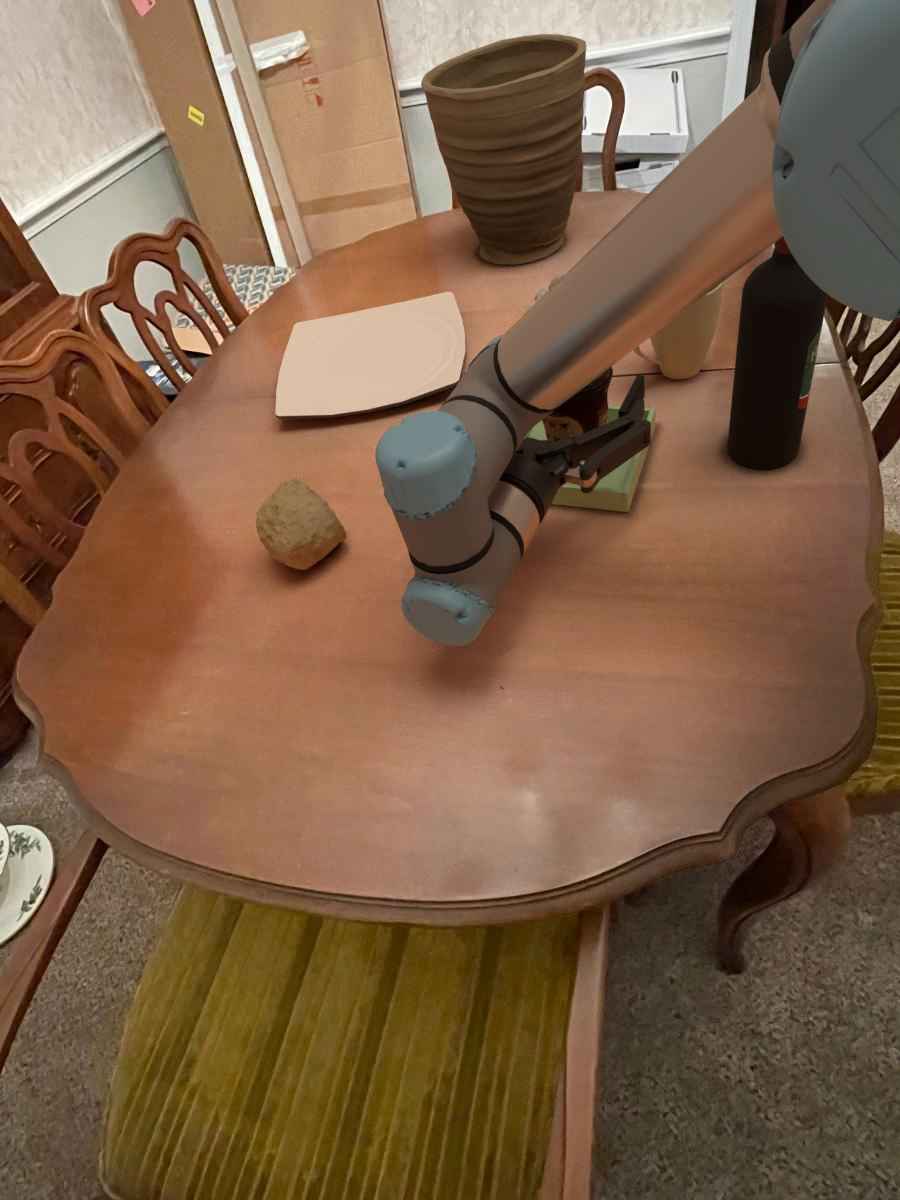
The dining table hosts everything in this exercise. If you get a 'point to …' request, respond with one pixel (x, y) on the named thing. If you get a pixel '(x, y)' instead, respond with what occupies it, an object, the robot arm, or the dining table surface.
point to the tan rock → (298, 525)
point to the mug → (687, 338)
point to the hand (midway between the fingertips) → (580, 379)
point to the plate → (371, 359)
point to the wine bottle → (774, 361)
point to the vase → (512, 139)
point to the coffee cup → (580, 411)
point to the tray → (614, 486)
